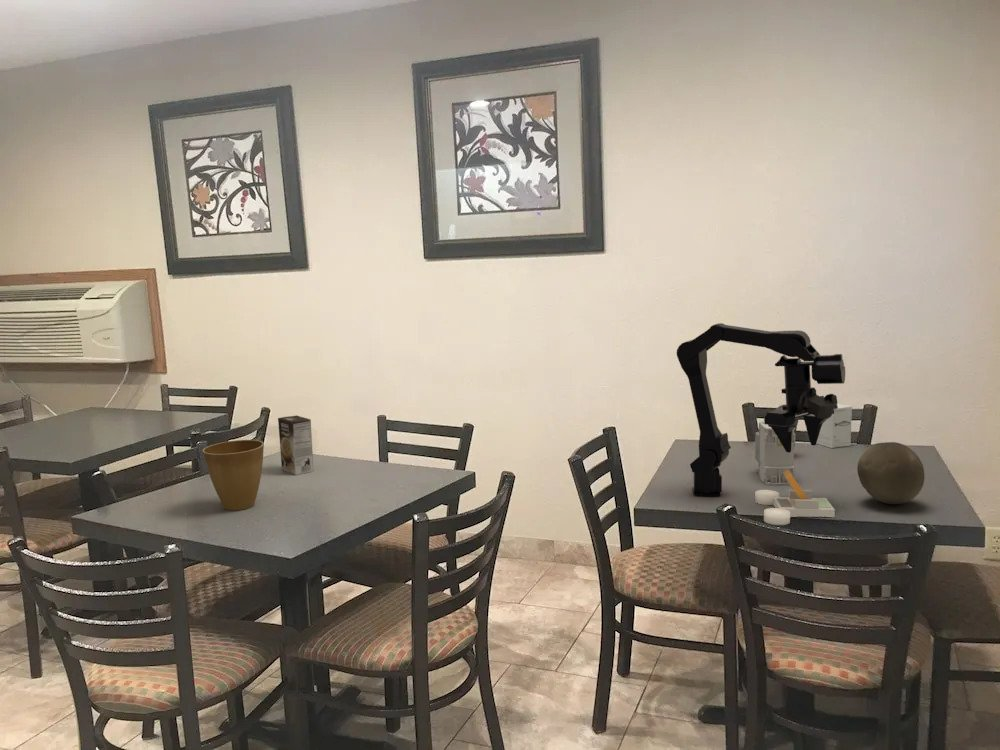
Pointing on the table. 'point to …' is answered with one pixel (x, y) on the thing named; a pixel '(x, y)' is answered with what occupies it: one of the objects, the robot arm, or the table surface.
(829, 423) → the supplement box
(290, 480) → the table surface
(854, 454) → the table surface
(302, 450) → the coffee box
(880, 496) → the cantaloupe
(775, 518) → the cream round disc
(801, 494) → the long orange brick
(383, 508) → the table surface
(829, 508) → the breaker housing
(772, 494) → the cream dome knob
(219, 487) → the plant pot
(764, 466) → the circuit breaker
